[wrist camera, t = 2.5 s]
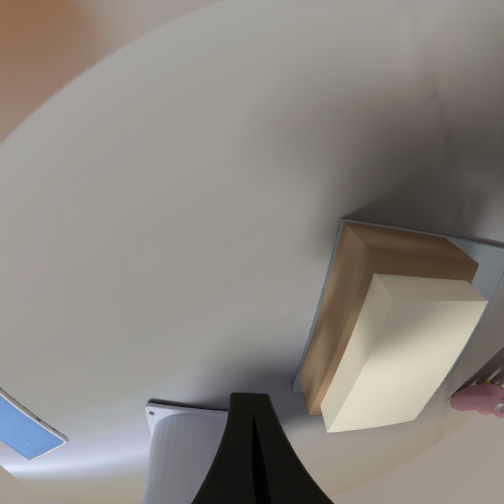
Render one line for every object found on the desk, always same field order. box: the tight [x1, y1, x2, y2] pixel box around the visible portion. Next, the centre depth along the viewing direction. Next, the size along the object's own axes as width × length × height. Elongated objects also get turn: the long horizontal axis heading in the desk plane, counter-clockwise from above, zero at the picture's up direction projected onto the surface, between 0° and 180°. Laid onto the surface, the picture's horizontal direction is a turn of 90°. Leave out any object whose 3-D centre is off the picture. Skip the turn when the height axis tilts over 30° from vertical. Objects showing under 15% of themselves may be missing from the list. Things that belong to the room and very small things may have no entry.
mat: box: [292, 218, 504, 393], centre depth 19 cm, size 13×15×1 cm
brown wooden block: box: [299, 222, 479, 415], centre depth 16 cm, size 11×7×4 cm, turn 173°
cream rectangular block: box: [320, 274, 488, 433], centre depth 14 cm, size 9×6×2 cm, turn 173°
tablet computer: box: [0, 388, 68, 460], centre depth 25 cm, size 19×13×1 cm, turn 131°
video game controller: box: [450, 379, 504, 418], centre depth 22 cm, size 10×5×7 cm, turn 60°
